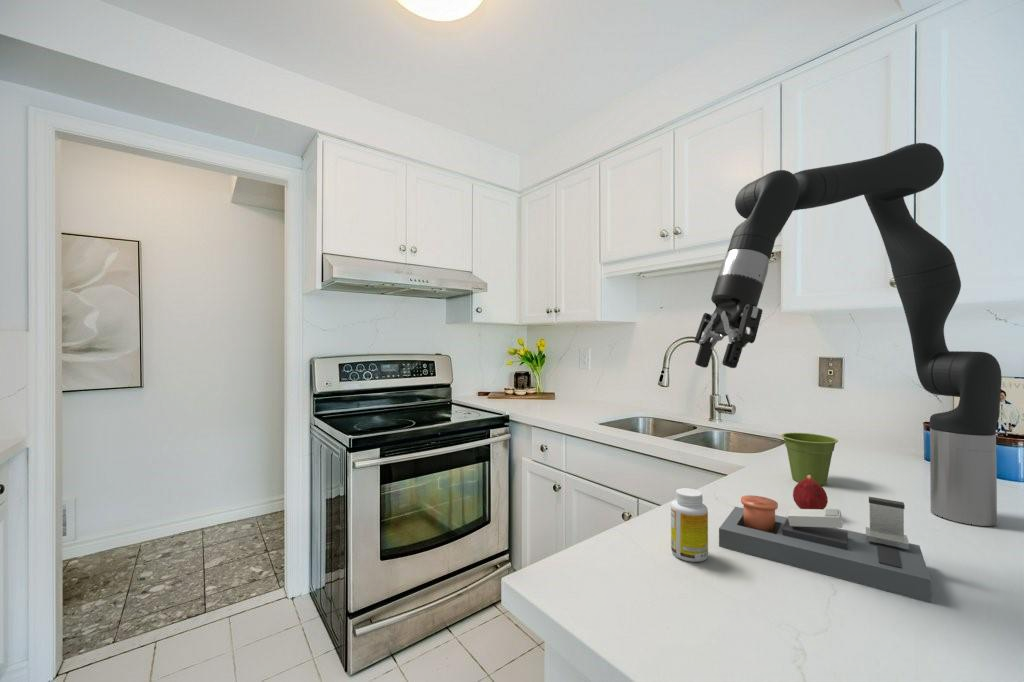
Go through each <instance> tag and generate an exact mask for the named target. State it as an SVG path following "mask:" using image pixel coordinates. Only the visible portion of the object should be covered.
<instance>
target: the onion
mask: <svg viewBox="0 0 1024 682" xmlns="http://www.w3.org/2000/svg"><path fill="white" fill-rule="evenodd" d="M792 497H793V498H792V499H793V501H794V502H795V505H796V506H797V508H798V509H823V510H825V509H826V507H827V505H828V498H829V497H828V496H827V491H826V490H825V489H824V488H823V485H820V484H818V483H817V482H815V481H814V480H813V477H812V476H811V475H808V476H807V478H806V479H805V480H803V481H801V482H797V483H796V485H795V486H794V488H793V490H792Z"/></svg>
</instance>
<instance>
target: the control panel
mask: <svg viewBox="0 0 1024 682" xmlns="http://www.w3.org/2000/svg"><path fill="white" fill-rule="evenodd" d="M718 547H721V548H725V549H728V550H732V551H736V552H740V553H744V554H747V555H751V556H755V557H759V558H762V559H766V560H769V561H773V562H776V563H781V564H785V565H789V566H792V567H794V568H795V567H796V568H800V569H804V570H807V571H811V572H814V573H818V574H823V575H825V576H826V575H827V576H830V577H833V578H837V579H841V580H844V581H848V582H852V583H856V584H860V585H862V586H867V587H871V588H875V589H878V590H882V591H886V592H890V593H893V594H897V595H901V596H903V597H908V598H912V599H915V600H920V601H923V602H926V603H930V604H931V603H932V579H931V576H930V574H929V571H928V567H927V565H926V561H925V557H924V555H923V551H922V550H921V546H920V545H919V544H915V543H909V549H904V548H899V547H895V546H890V545H885V544H881V543H876V542H872V541H867V540H866V533H863V532H858V531H854V530H853V531H852V530H848V529H843V528H829V527H803V526H790V525H789V520H788V516H787V517H786V516H782V515H777V514H775V531H772V532H765V531H760V530H756V529H752V528H748V527H746V526H745V525H744V515H743V507H739V506H735V507H734V508H733V509H732V510H731V511H730V513H729V514H728V516H727V517H726V519H725V520H724V521H723V523H721V525H720V526H719V528H718Z"/></svg>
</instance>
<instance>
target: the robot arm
mask: <svg viewBox="0 0 1024 682" xmlns="http://www.w3.org/2000/svg"><path fill="white" fill-rule="evenodd" d="M944 168H945V162H944V157H943V155H942V153H941V151H940V150H939V148H937V147H936V146H935V145H932V144H930V143H925V142H917V143H911V144H907V145H905V146H902V147H899V148H897V149H895V150H892V151H890V152H887V153H885V154H883V155H880V156H876V157H872V158H867V159H862V160H857V161H851V162H846V163H840V164H833V165H827V166H820V167H815V168H810V169H809V168H808V169H804V170H800V171H796V172H795V173H792V172H791V171H789V170H786V169H778V170H773V171H770V172H769V173H767V174H765V175H763V176H761V177H759V178H757V179H756V180H753V181H752V182H749V183H748V184H746V185H744V186H743V187H742V188H741V189H740V190H739V191H738V193H737V195H736V197H735V200H734V201H735V202H734V206H735V210H736V212H737V213H738V215H739V216H741V217H742V218H744V219H745V220H744V221H742V222H741V223H740V224H738V226H736V228H735V229H734V230H733V232H732V235H731V238H730V241H729V245H728V248H727V250H726V255H725V256H724V259H723V261H722V263H721V265H720V268H719V272H718V275H717V277H716V280H715V284H714V288H713V291H712V294H711V296H710V299H711V302H712V303H713V304H714V305H715V309H714V311H713V313H712V314H711V313H707V312H704V314H703V315H702V317H701V321H700V323H699V325H698V326H699V327H698V329H697V332H696V335H695V338H694V342H695V343H696V344H698V345H699V349H698V353H697V355H696V358H695V362H694V363H695V365H696V366H698V367H700V368H705V369H706V368H708V367H709V365H710V364H709V363H710V360H711V359H712V354H713V351H714V350H713V348H714V347H715V346H716V345H717V343H718V342H719V341H722V340H723V339H724V338H725V337H728V342H729V343H727V346H726V349H725V352H724V355H723V358H722V363H721V364H722V365H723V366H725V367H728V368H730V369H736V368H737V367H738V364H739V361H740V357H741V354H742V352H743V348H746V346H747V344H748V343H749V344H753V343H755V341H756V338H757V333H758V330H759V327H760V322H761V318H762V314H763V309H762V308H760V307H758V305H759V302H760V298H761V295H762V292H763V290H764V285H765V282H766V279H767V276H768V271H769V264H770V260H771V256H772V254H773V249H774V247H775V243H776V239H777V238H778V236H779V235H780V233H781V232H782V230H783V229H784V228H785V227H784V226H785V225H786V224H787V222H788V220H789V219H790V217H791V215H792V213H793V212H795V211H799V210H808V209H814V208H818V207H824V206H830V205H833V204H837V203H840V202H843V201H848V200H851V199H855V198H857V197H861V196H864V199H865V201H866V203H867V204H866V205H867V206H868V208H869V210H870V212H871V214H872V217H873V220H874V221H875V225H876V226H877V229H878V232H879V233H880V234H879V235H880V236H881V239H882V242H883V245H884V248H885V250H886V255H887V257H888V260H889V265H890V268H891V272H892V276H893V280H894V283H895V287H896V289H897V293H898V295H899V298H900V300H901V301H900V302H901V304H902V307H903V311H904V315H905V318H906V322H907V326H908V331H909V335H910V339H911V347H912V351H913V358H914V364H915V369H916V370H915V372H916V374H917V377H918V380H919V382H920V385H921V386H922V388H923V389H924V390H925V391H926V392H927V393H929V394H933V395H935V396H936V395H937V396H945V397H957V398H959V401H958V405H957V407H955V408H954V409H953V408H952V409H951V410H947V411H943V412H937V413H934V414H931V416H930V418H929V442H930V443H929V445H930V446H929V448H930V449H929V452H930V454H929V457H930V458H929V459H930V460H929V462H930V463H929V464H930V465H929V467H930V469H929V470H930V471H929V472H930V475H929V476H930V512H931V513H932V514H933V513H934V515H935V514H936V515H935V516H937V515H938V517H940V518H942V517H943V519H945V520H949V521H953V522H956V523H961V524H966V525H971V524H972V525H973V526H981V527H982V526H983V527H994V526H997V525H998V492H997V491H998V487H997V486H998V485H997V483H998V480H997V479H998V478H997V475H998V474H997V424H998V422H999V419H1000V411H1001V410H1000V409H1001V394H1002V368H1001V366H1000V364H999V361H998V360H997V358H996V357H995V356H994V355H993V354H991V353H989V352H985V351H971V350H970V351H966V350H964V351H961V350H960V351H959V350H957V351H955V350H954V351H953V350H949V349H948V346H947V343H946V337H945V324H946V322H947V321H946V320H947V319H948V317H949V314H950V312H951V311H952V309H953V308H954V306H955V303H956V301H957V300H958V297H959V295H960V292H961V288H962V282H961V276H960V273H959V269H958V267H957V263H956V259H955V256H954V255H953V253H952V251H951V250H950V249H949V248H948V247H947V245H945V243H943V242H942V241H940V240H939V239H938V238H936V236H934V235H933V234H932V233H930V232H929V231H927V230H926V229H924V228H923V227H922V226H921V225H919V223H917V221H916V220H915V219H914V218H913V217H912V215H911V213H910V211H909V209H908V207H907V203H906V201H905V198H906V197H909V196H911V195H914V194H917V193H921V192H923V191H926V190H928V189H929V188H931V187H932V186H934V185H936V184H937V182H938V181H939V180H940V178H941V177H942V175H943V173H944V170H945V169H944ZM904 197H905V198H904ZM747 328H748V329H749V333H748V330H747ZM703 333H704V334H703ZM972 525H971V526H972Z"/></svg>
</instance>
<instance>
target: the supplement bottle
mask: <svg viewBox="0 0 1024 682" xmlns="http://www.w3.org/2000/svg"><path fill="white" fill-rule="evenodd" d="M708 511H709V510H708V507H707V505H706V504H704V503H703V493H702V492H701V491H700V490H697V489H693V488H688V487H687V488H686V487H682V488H678V489H676V490H675V500H673V501H672V502H671V504H670V550H671V552H672V553H673V555H674V556H675V557H677V558H678V559H681V560H682V561H686V562H691V563H700V562H703V561H705V560H707V558H708V557H709V513H708Z"/></svg>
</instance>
